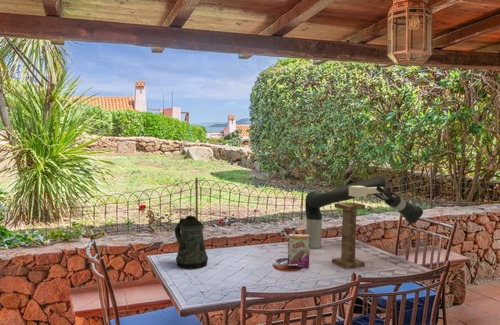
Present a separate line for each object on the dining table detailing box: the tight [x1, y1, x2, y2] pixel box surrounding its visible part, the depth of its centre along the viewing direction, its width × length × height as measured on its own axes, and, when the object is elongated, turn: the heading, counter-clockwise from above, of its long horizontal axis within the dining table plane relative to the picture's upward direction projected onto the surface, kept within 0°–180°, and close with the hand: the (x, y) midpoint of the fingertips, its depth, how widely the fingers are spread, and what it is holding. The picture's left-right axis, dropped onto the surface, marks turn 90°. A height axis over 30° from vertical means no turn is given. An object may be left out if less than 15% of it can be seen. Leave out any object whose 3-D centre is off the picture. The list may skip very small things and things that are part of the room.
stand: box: [331, 201, 366, 270], centre depth 234 cm, size 12×12×32 cm
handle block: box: [349, 186, 384, 198], centre depth 236 cm, size 20×6×5 cm, turn 116°
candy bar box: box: [287, 233, 311, 269], centre depth 230 cm, size 11×5×16 cm, turn 84°
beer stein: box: [174, 215, 209, 270], centre depth 231 cm, size 16×19×25 cm
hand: (375, 187), depth 239 cm, fingers closed on handle block, 2 cm apart
